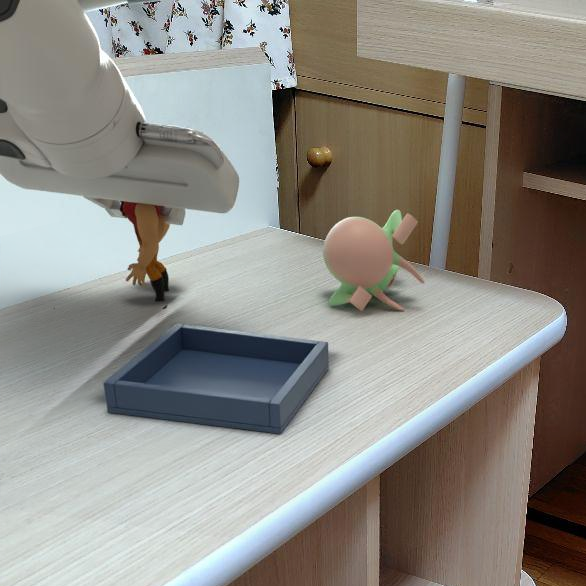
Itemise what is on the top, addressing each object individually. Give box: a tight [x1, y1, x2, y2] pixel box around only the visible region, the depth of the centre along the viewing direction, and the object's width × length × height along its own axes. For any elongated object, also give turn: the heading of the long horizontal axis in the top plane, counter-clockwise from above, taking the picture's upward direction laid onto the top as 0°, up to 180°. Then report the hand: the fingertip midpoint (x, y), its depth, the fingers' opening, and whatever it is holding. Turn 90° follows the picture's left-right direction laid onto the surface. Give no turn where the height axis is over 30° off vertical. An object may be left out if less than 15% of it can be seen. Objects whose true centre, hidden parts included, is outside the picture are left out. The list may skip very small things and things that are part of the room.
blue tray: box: [103, 323, 330, 435], centre depth 81 cm, size 14×14×2 cm
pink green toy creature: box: [322, 209, 426, 312], centre depth 102 cm, size 12×10×9 cm
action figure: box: [123, 201, 171, 310], centre depth 92 cm, size 10×4×15 cm, turn 10°
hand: (148, 214), depth 93 cm, fingers closed on action figure, 4 cm apart
